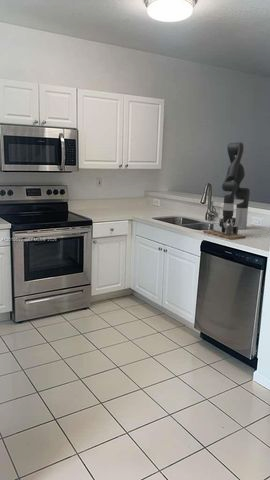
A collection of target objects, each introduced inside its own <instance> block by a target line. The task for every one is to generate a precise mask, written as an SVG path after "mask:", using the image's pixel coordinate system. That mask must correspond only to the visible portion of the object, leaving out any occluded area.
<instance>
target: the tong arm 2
mask: <svg viewBox="0 0 270 480" xmlns="http://www.w3.org/2000/svg"><path fill="white" fill-rule="evenodd" d="M215 223H216V222H215ZM216 224H219V223H216ZM226 226H227V227H231V233H234V234H239V229H238V227H236V226H229V224H227V225H226Z"/></svg>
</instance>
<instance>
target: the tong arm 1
mask: <svg viewBox="0 0 270 480" xmlns="http://www.w3.org/2000/svg"><path fill="white" fill-rule="evenodd" d="M212 230H215V231H218V232H222V227H220V225H219V223H218V224H214V227H213V226H212ZM224 233H225V234H228V235H231V227H227V226H225V232H224Z"/></svg>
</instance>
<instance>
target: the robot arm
mask: <svg viewBox="0 0 270 480" xmlns="http://www.w3.org/2000/svg"><path fill="white" fill-rule="evenodd" d="M244 150H245V149H244V144H243V142H239V141H238V142H229V143H228V144H227V155H228V158H229V161H230V162H229V163H230V165H228V167H227V172H226V176H225V179H224V181H223V182H222V186H221V188H222V190H223V192H228V193H229V192H230V194H224V196H223V206H222V207H223V208H222V216H223V217H222V218H218V219H219V223H218V224H219V225H220V227H222V233H224V232H225V226H226V225H229V226H236V227H238V230H247V226H248V225H247V224H248V212H249V203H250V195H251V192H250V190H251V189H250V188H247V187H241V186H240V185H241V183H242V182H243V180H244V179H245V176H246V174H245V167H244V166H243V164H242V163H241V160H242V157H243V154H244ZM235 198H236V199H237V200H243V201H241V202H240V203H236V207H235V205H234V203H235ZM234 209H235V211H234ZM234 213H235V217H234Z"/></svg>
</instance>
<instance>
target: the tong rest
mask: <svg viewBox="0 0 270 480" xmlns="http://www.w3.org/2000/svg"><path fill="white" fill-rule="evenodd" d="M214 224H216V222H213V223H212V228H213V227H214ZM203 232H204V233H203ZM202 233H203V234H206V233H207V235H210V234H211V236H215V237H219V238H223V239H227V240H230V241H232V240H233V241H234V240H242V239H243V240H244V239H246V237H247V236H246V235H242V234H239V233H238V234H234V233H231V235H228V234H225V233H222V232H218V231H215V230H213V229H209V230H203V231H202Z"/></svg>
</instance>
